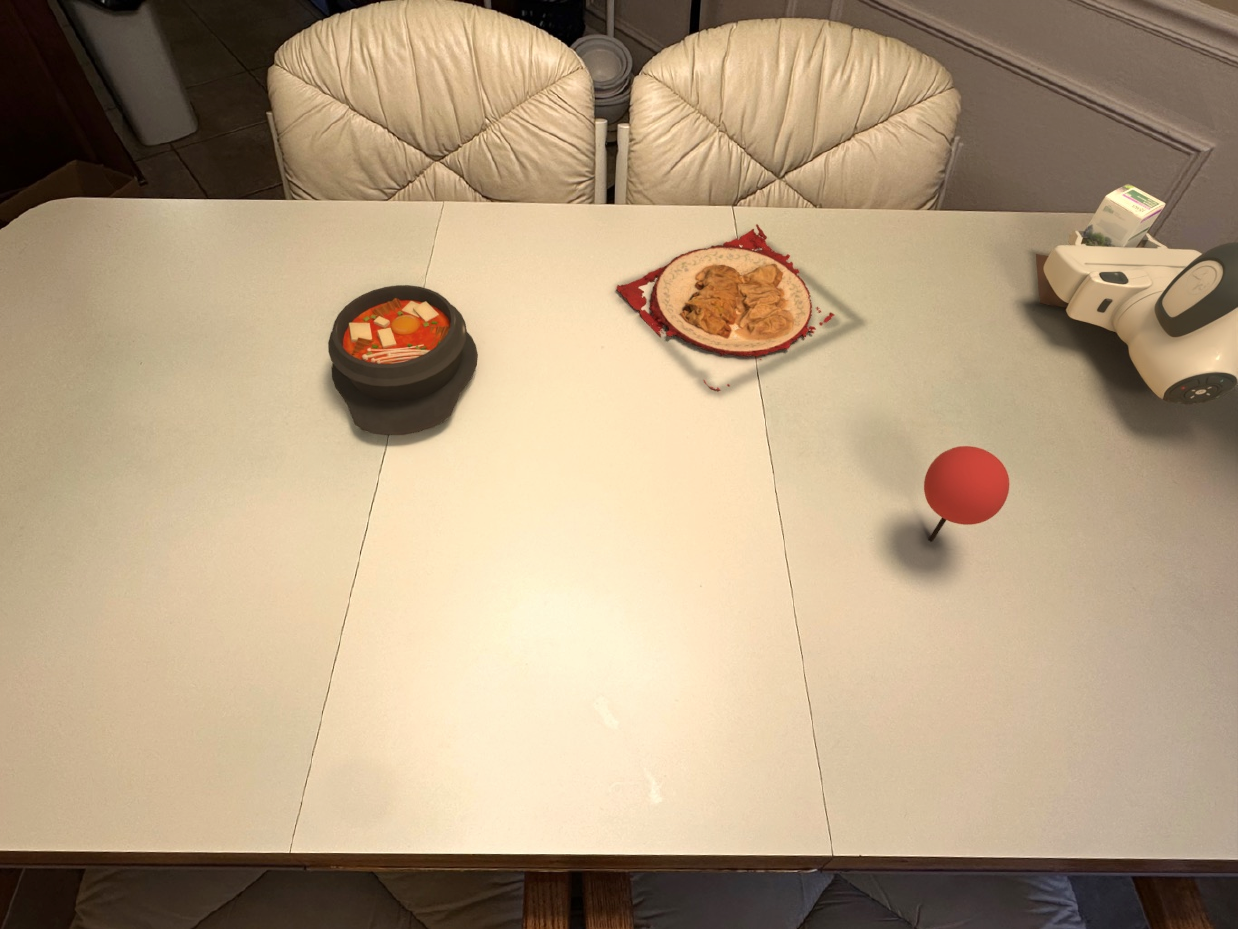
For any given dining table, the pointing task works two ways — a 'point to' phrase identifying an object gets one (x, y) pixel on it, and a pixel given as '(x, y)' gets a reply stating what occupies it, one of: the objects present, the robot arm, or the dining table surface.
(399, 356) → the casserole
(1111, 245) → the syrup box
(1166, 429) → the dining table surface
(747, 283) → the plate with food
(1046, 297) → the stand
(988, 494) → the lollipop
